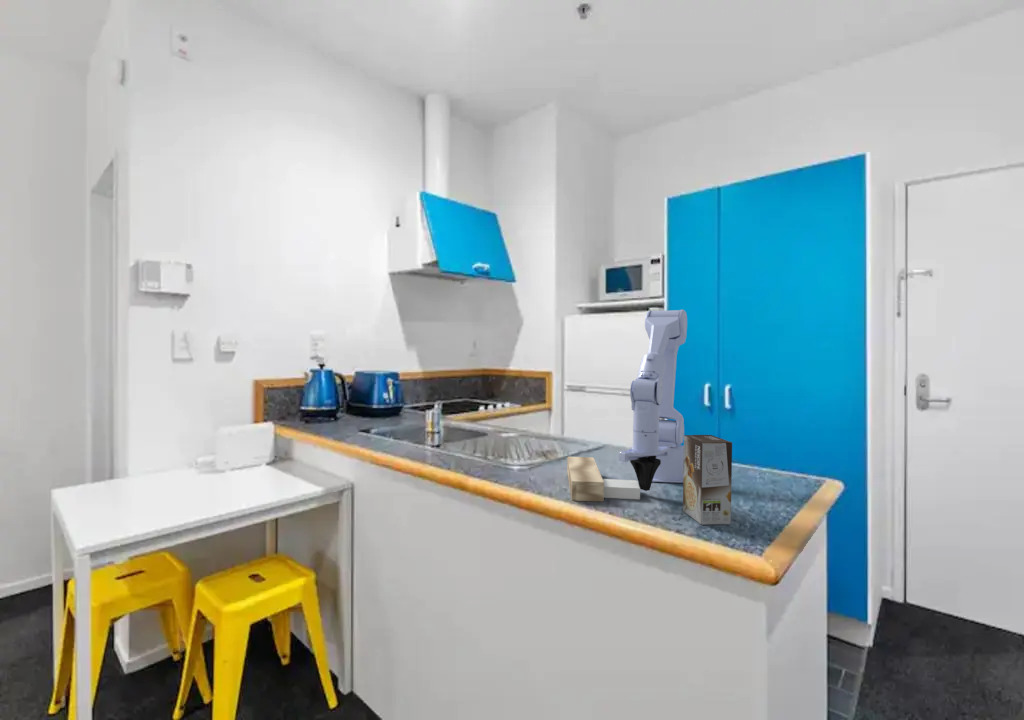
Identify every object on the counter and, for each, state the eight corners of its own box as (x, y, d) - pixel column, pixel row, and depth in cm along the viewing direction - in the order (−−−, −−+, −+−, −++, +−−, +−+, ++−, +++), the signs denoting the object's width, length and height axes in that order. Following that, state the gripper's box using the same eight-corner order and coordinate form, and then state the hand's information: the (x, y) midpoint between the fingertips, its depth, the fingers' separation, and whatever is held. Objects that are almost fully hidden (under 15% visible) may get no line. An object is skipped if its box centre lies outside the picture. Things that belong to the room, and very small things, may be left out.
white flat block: (636, 490, 121) (636, 480, 121) (639, 499, 114) (640, 488, 114) (594, 488, 122) (594, 478, 122) (594, 497, 115) (595, 486, 115)
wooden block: (593, 473, 137) (593, 457, 137) (603, 501, 112) (603, 482, 112) (567, 472, 138) (567, 456, 138) (571, 500, 112) (572, 481, 112)
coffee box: (732, 524, 98) (734, 442, 98) (700, 525, 97) (702, 442, 97) (710, 509, 107) (711, 434, 107) (680, 510, 106) (682, 434, 106)
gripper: (655, 426, 124) (654, 481, 124) (610, 430, 116) (609, 489, 116) (678, 430, 118) (676, 488, 118) (632, 435, 110) (630, 497, 110)
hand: (644, 489), depth 117 cm, fingers closed
